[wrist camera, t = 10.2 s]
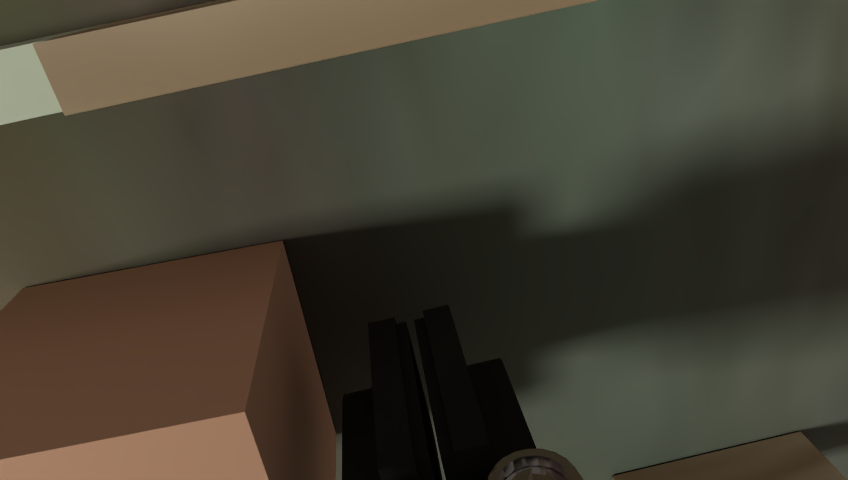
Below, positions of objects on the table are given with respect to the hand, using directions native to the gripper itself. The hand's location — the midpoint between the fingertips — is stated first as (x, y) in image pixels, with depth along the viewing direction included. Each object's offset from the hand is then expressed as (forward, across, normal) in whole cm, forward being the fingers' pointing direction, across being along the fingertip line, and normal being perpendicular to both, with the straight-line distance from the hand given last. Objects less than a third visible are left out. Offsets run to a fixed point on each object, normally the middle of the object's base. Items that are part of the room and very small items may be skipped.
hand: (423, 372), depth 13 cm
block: (+2, +5, 0) cm, 6 cm away
